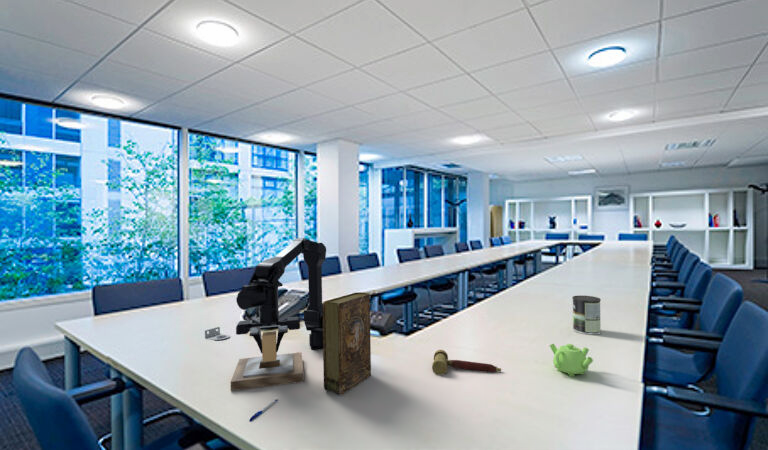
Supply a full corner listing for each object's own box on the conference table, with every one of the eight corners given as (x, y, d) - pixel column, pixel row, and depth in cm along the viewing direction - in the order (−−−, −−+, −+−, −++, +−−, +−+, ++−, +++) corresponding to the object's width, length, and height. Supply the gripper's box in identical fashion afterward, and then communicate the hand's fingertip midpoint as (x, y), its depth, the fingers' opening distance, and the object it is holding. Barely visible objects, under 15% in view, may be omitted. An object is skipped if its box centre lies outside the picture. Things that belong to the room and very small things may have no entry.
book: (358, 371, 112) (357, 291, 112) (373, 374, 109) (372, 293, 109) (323, 392, 98) (322, 301, 98) (339, 397, 95) (337, 303, 95)
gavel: (499, 356, 114) (503, 369, 104) (499, 370, 114) (503, 384, 104) (434, 348, 118) (432, 359, 109) (433, 362, 118) (431, 374, 109)
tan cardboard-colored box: (276, 356, 113) (276, 331, 113) (276, 360, 109) (275, 334, 109) (263, 357, 112) (263, 332, 112) (262, 362, 108) (262, 336, 108)
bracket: (218, 342, 143) (218, 333, 143) (204, 338, 149) (204, 330, 149) (233, 338, 149) (233, 329, 149) (219, 334, 154) (219, 326, 154)
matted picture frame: (301, 359, 122) (301, 351, 122) (303, 381, 105) (303, 371, 105) (239, 366, 117) (239, 357, 117) (230, 390, 100) (230, 379, 100)
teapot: (550, 376, 106) (550, 348, 106) (549, 362, 116) (549, 336, 116) (594, 382, 101) (593, 352, 101) (588, 367, 111) (588, 340, 112)
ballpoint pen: (252, 422, 83) (251, 418, 83) (248, 422, 84) (248, 417, 84) (277, 401, 93) (277, 397, 93) (274, 400, 94) (274, 397, 94)
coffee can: (571, 332, 148) (570, 298, 148) (574, 326, 156) (574, 294, 156) (600, 336, 142) (599, 301, 142) (602, 330, 150) (601, 296, 150)
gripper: (298, 295, 121) (299, 341, 121) (240, 299, 116) (241, 347, 116) (299, 302, 110) (300, 352, 110) (235, 307, 106) (236, 359, 106)
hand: (269, 352), depth 111 cm, fingers closed on tan cardboard-colored box, 4 cm apart
